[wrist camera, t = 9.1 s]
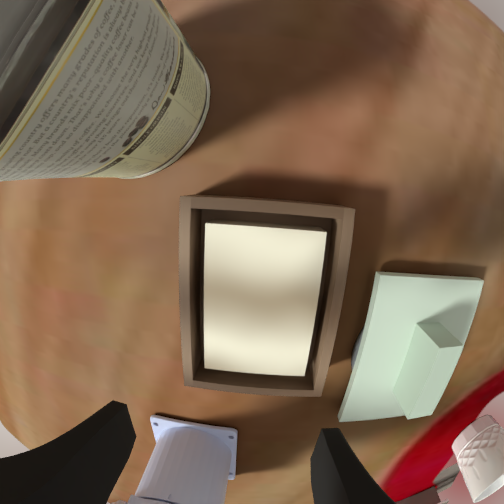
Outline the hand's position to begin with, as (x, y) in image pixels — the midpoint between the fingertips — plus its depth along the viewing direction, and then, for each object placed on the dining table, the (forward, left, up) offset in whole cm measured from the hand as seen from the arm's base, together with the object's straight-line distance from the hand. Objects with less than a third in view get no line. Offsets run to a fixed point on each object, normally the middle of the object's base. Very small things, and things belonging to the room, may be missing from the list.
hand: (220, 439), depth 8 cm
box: (+2, -1, -10) cm, 11 cm away
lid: (-2, -13, -10) cm, 16 cm away
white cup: (-17, -30, -11) cm, 36 cm away
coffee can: (+14, +8, -11) cm, 19 cm away
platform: (-34, -28, -11) cm, 45 cm away
